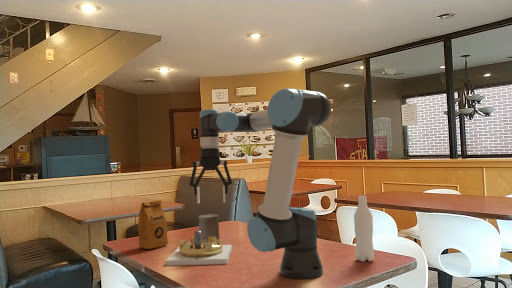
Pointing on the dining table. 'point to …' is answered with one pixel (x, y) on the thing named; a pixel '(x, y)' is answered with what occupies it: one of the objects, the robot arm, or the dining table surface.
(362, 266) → the dining table surface
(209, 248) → the gold round notched piece
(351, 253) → the dining table surface
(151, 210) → the coffee package
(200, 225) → the pillar candle
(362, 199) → the water bottle
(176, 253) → the mount plate
